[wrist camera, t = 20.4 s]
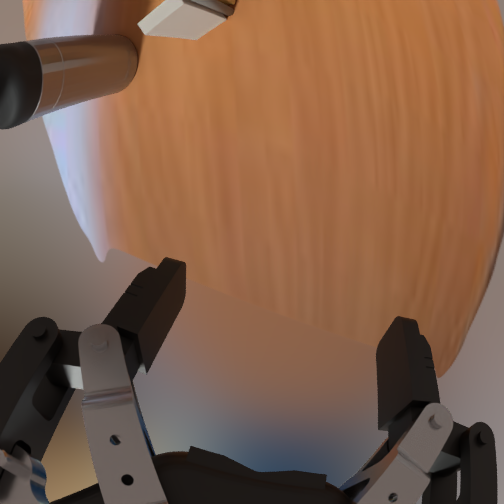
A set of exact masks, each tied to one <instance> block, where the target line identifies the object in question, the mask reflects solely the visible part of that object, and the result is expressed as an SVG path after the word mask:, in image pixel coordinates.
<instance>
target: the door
mask: <svg viewBox="0 0 504 504" xmlns="http://www.w3.org/2000/svg"><path fill="white" fill-rule="evenodd" d="M218 1H220V2H222V3H224V4H233V5H235V0H218Z"/></svg>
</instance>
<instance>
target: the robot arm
mask: <svg viewBox="0 0 504 504" xmlns="http://www.w3.org/2000/svg"><path fill="white" fill-rule="evenodd" d="M137 63H138V61H137V52H136V49H135V47H134V45H133V43H132V42H131V41H130V40H129V39H128V38H126V37H124V36H122V35H78V36H64V37H53V38H44V39H37V40H30V41H23V42H16V43H9V44H1V45H0V129H9V128H12V127H15V126H17V125H20V124H22V123H25V122H27V121H30V120H32V119H35V118H38V117H40V116H43V115H45V114H48V113H51V112H54V111H57V110H59V109H62V108H65V107H69V106H72V105H75V104H78V103H81V102H85V101H88V100H91V99H95V98H99V97H103V96H106V95H110V94H114V93H118V92H120V91H122V90H123V89H124V88H126V87H127V86H128V85H129V83H130V82H131V81H132V79H133V77H134V75H135V72H136V69H137ZM185 294H186V263H185V262H182V261H179V260H175V259H171V258H168V257H165V258H164V259H163V260H162V262H161V263H160V265H159V266H158V267H157V269H155V268H152V267H148V268H147V269H145V270H144V271H142V272H140V273H139V274H138V275H137V276H136V277H135V279H134V280H133V281H132V283H131V285H129V287H128V288H127V290H126V291H125V293H123V295H122V296H121V297H120V299H119V300H118V302H117V303H116V304H115V306H114V307H113V309H112V310H111V311H110V313H109V314H108V315H107V317H106V318H105V320H104V321H103V322H102V323H101V324H95V325H92V326H90V327H88V328H87V329H85V330H84V331H83V332H76V331H66V330H59V329H58V327H57V325H56V323H55V321H53V320H52V319H50V318H47V317H39V318H36V319H33V320H32V321H30V322H29V323H28V324H27V325H26V326H25V328H24V329H23V331H22V332H21V333H20V335H19V336H18V338H17V339H16V340H15V342H14V343H13V345H12V346H11V348H10V349H9V351H8V352H7V354H6V355H5V357H4V358H3V360H2V361H1V363H0V504H415V503H416V502H417V500H418V499H419V498H420V496H421V495H422V493H423V495H422V504H497V464H496V450H495V439H494V434H493V432H492V430H491V428H490V427H489V426H488V425H487V424H485V423H483V422H477V423H475V424H474V425H472V426H471V427H470V428H468V427H466V426H463V425H461V424H458V423H456V422H454V421H453V418H452V415H451V413H450V411H449V410H448V409H447V408H446V407H445V406H443V405H441V404H440V398H439V391H438V385H437V380H436V373H435V370H434V363H433V360H432V353H431V348H430V345H429V344H428V342H427V340H426V338H425V337H424V335H420V333H419V328H418V324H417V321H416V320H414V319H409V318H405V317H400V316H398V317H396V318H395V319H394V321H393V322H392V324H391V325H390V327H389V328H388V330H387V332H386V333H385V335H384V336H383V337H382V339H381V340H380V342H379V344H378V347H377V352H376V363H377V385H378V430H384V431H388V432H389V433H388V437H387V438H386V439H385V440H384V441H383V442H382V444H381V445H380V446H379V447H378V449H377V450H376V451H375V452H374V454H373V455H372V456H371V457H370V458H369V459H368V460H367V462H366V463H365V464H364V465H363V466H362V467H361V468H360V469H359V470H358V472H357V473H355V474H354V475H353V476H352V477H351V478H349V479H348V480H347V481H346V482H344V483H343V484H342V485H341V486H340V487H339V488H337V487H335V486H334V485H332V484H330V483H328V482H326V476H327V475H325V474H316V473H309V472H302V471H279V472H256V471H254V470H251V469H250V468H248V467H246V466H244V465H242V464H240V463H238V462H236V461H234V460H232V459H229V458H228V457H226V456H224V455H220V454H216V453H213V452H209V451H206V450H203V449H199V448H196V447H193V446H190V449H189V452H183V451H181V452H179V451H178V452H167V453H162V454H158V455H156V454H155V451H154V449H153V446H152V443H151V440H150V437H149V434H148V431H147V429H146V425H145V422H144V419H143V416H142V412H141V409H140V405H139V402H138V398H137V395H136V391H135V387H134V384H133V379H134V377H135V375H136V373H137V371H139V372H141V373H144V374H146V375H147V372H148V371H149V369H150V367H151V365H152V363H153V361H154V359H155V357H156V355H157V353H158V351H159V349H160V348H161V346H162V344H163V342H164V340H165V338H166V336H167V334H168V332H169V331H170V328H171V327H172V325H173V323H174V321H175V319H176V317H177V315H178V314H179V312H180V310H181V308H182V306H183V303H184V299H185ZM76 388H77V389H84V399H83V400H82V413H83V419H84V424H85V429H86V434H87V439H88V444H89V448H90V452H91V456H92V461H93V465H94V468H95V472H96V476H97V479H98V483H97V484H94V485H92V486H90V487H88V488H85V489H83V490H81V491H78V492H76V493H73V494H71V495H68V496H66V497H63V498H61V499H58V500H55V501H53V502H51V503H49V501H48V499H47V497H46V494H45V485H46V478H47V477H46V471H45V469H44V467H43V465H42V463H41V460H42V458H43V455H44V453H45V451H46V449H47V447H48V444H49V442H50V440H51V438H52V436H53V433H54V431H55V429H56V427H57V425H58V423H59V421H60V419H61V417H62V415H63V413H64V411H65V409H66V407H67V405H68V403H69V401H70V399H71V397H72V395H73V393H74V391H75V389H76ZM459 470H461V485H460V487H461V488H460V496H459V498H458V499H457V501H456V496H457V471H459Z"/></svg>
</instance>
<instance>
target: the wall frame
mask: <svg viewBox="0 0 504 504" xmlns="http://www.w3.org/2000/svg"><path fill="white" fill-rule="evenodd" d="M233 13H234V10H233V8H231V7H229V6H227V5H225V4H223V3H222V2H220V1H218V0H165V1H164V2H163V3H161V4H160V5H159V6H158V7H156V8H155V9H154V10H153V11H152V12H150V13H149V14H148V15H147V16H146V17H145V18H143V19H142V20H141V21H140V22H139V23H138V26H139V27H140V29H141V30H142V31H143V33H144V34H145V35H151V36H164V37H174V38H183V39H191V40H197V39H199V38H200V37H202V36H203V35H204V34H206V33H207V32H209V31H210V30H212V29H213V28H215V27H216V26H218V25H219V24H221V23H223V22H224V21H226V20H227V19H226V18H225V16H224V15H227V16H231V15H232V14H233ZM223 14H224V15H223Z"/></svg>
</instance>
